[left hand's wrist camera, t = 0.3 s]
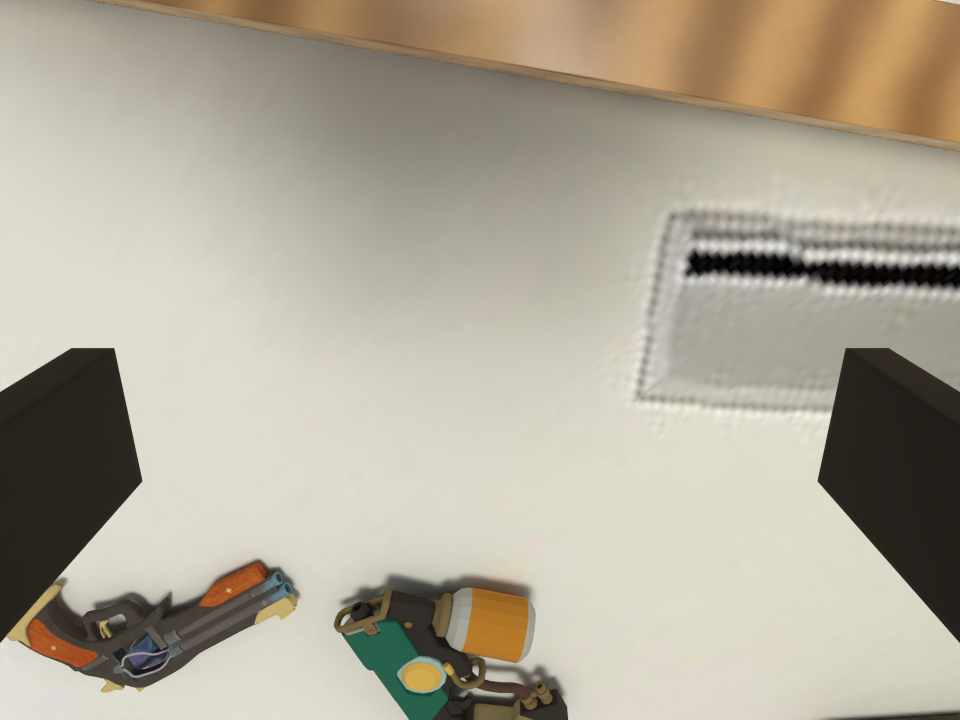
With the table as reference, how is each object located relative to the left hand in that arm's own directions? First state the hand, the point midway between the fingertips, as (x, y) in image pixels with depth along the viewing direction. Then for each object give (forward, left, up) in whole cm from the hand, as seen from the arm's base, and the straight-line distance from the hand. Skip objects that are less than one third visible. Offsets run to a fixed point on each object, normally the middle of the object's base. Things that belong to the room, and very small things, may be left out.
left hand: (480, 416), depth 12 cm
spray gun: (+33, 0, -27) cm, 43 cm away
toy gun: (+29, -22, -27) cm, 45 cm away
